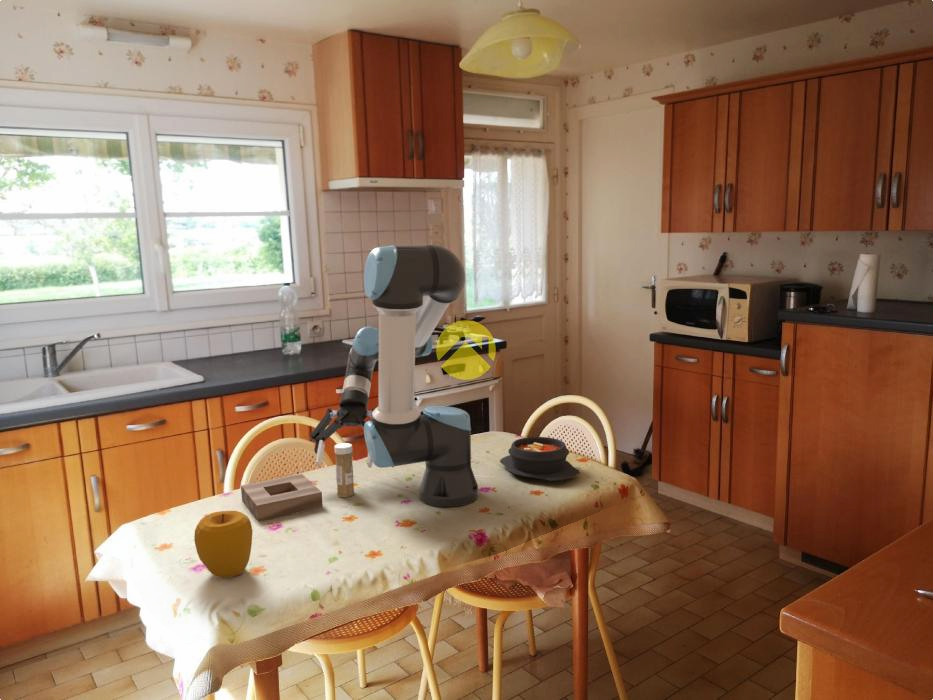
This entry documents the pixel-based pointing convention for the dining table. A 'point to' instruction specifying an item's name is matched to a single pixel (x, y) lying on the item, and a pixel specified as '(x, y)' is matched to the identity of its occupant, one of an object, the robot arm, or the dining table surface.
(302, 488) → the frame
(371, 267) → the robot arm
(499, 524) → the dining table surface
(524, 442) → the casserole
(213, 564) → the apple
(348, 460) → the sprinkles bottle
